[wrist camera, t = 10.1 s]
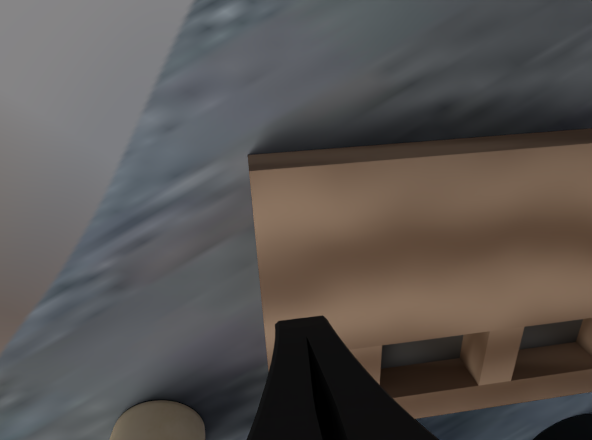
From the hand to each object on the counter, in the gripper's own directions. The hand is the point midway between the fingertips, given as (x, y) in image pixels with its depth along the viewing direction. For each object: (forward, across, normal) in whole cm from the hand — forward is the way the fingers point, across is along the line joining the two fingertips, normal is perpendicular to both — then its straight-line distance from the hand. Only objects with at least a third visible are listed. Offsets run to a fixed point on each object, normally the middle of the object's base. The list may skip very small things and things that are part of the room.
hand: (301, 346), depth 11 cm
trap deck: (+9, -13, +5) cm, 17 cm away
